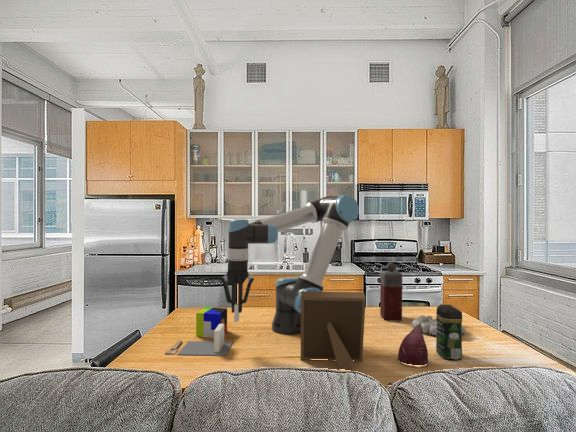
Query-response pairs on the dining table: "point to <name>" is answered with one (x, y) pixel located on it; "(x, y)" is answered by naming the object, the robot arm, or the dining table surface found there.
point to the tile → (218, 338)
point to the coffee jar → (449, 332)
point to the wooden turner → (174, 348)
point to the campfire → (429, 324)
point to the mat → (204, 348)
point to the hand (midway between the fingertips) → (236, 320)
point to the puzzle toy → (210, 321)
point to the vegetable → (414, 348)
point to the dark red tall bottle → (391, 294)
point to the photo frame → (332, 326)
